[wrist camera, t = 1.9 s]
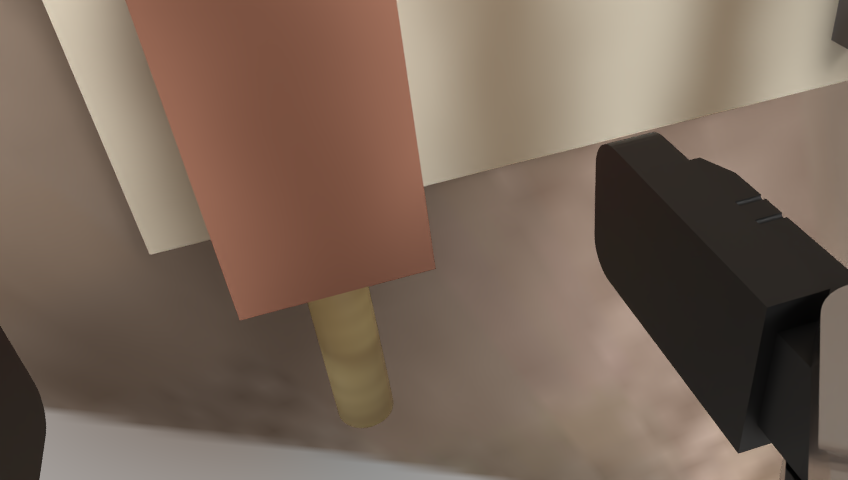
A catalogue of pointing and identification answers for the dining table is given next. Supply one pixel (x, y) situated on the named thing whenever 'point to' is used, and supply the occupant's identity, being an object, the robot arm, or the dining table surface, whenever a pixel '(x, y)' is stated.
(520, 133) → the board
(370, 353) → the reddish-brown block with stick
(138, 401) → the dining table surface
